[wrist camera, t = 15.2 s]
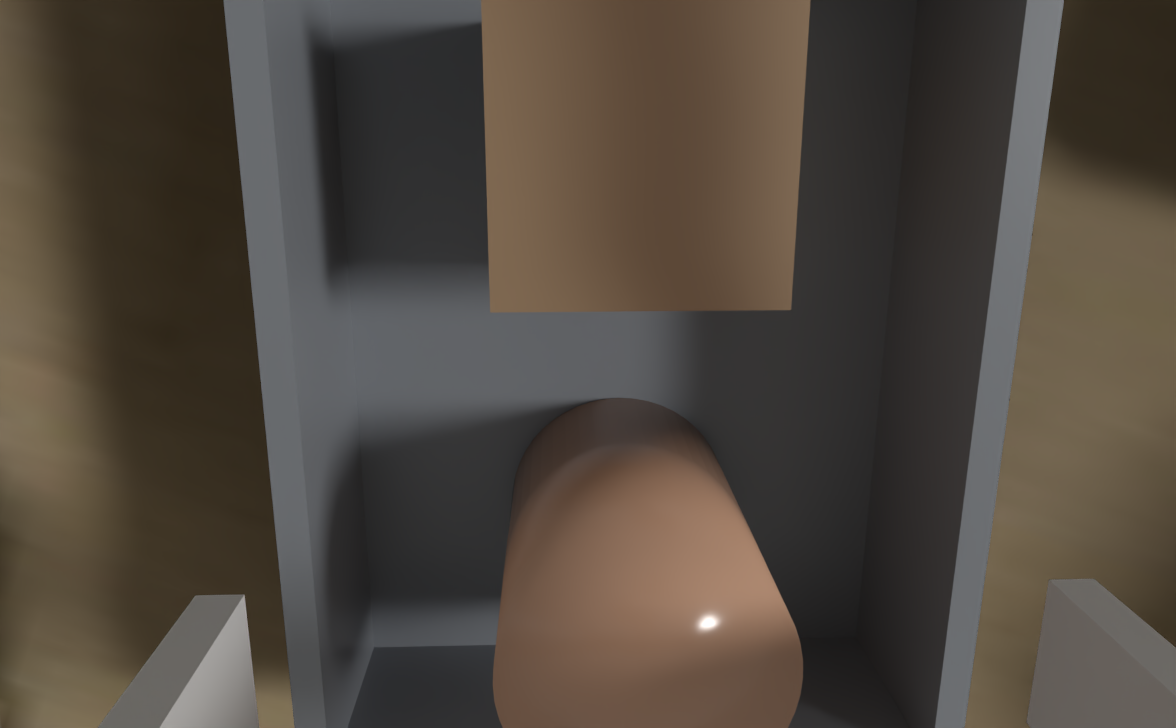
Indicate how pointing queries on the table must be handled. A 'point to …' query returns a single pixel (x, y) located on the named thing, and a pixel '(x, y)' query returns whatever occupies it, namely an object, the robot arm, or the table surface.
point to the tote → (635, 351)
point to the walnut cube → (643, 153)
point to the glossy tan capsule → (636, 584)
